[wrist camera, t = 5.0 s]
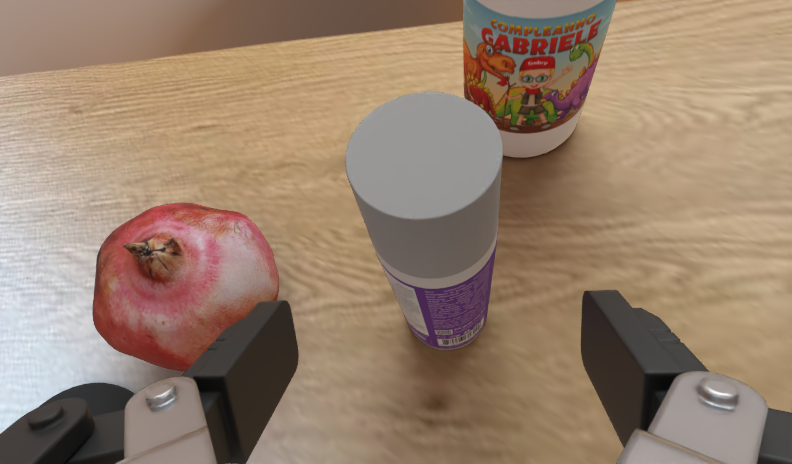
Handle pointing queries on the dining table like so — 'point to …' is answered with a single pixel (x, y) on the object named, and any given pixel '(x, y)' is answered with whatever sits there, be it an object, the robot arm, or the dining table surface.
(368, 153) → the container
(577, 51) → the milk bottle
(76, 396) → the coaster
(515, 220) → the dining table surface
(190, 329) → the fruit
